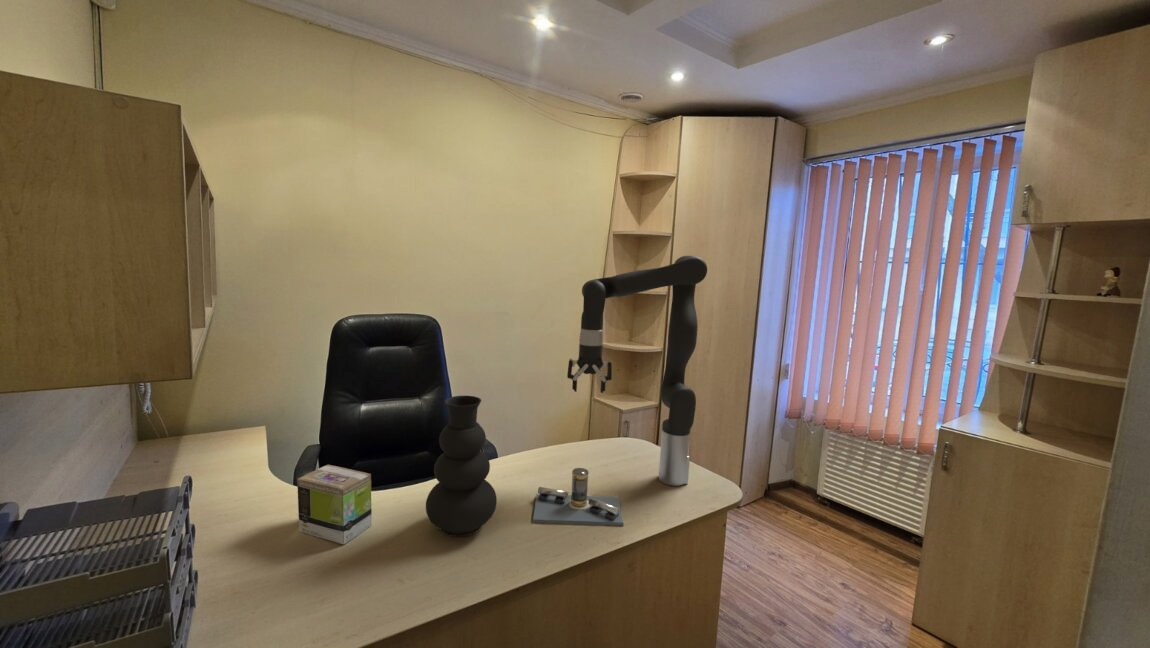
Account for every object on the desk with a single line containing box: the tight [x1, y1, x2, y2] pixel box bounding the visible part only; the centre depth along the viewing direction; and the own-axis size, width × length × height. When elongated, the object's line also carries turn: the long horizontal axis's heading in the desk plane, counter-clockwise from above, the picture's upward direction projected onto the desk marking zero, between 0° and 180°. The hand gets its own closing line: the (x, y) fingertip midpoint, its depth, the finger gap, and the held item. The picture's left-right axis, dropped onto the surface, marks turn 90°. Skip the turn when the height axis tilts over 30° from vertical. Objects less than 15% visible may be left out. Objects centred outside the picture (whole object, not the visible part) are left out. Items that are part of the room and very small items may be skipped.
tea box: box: [296, 464, 373, 545], centre depth 121 cm, size 15×10×15 cm, turn 71°
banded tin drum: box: [570, 467, 589, 508], centre depth 137 cm, size 5×5×10 cm
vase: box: [425, 395, 498, 537], centre depth 123 cm, size 18×18×35 cm
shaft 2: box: [589, 498, 619, 521], centre depth 134 cm, size 9×4×4 cm, turn 56°
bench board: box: [532, 493, 624, 527], centre depth 136 cm, size 25×14×1 cm, turn 91°
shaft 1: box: [537, 486, 570, 504], centre depth 140 cm, size 9×4×4 cm, turn 76°
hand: (588, 391), depth 152 cm, fingers open, 8 cm apart
